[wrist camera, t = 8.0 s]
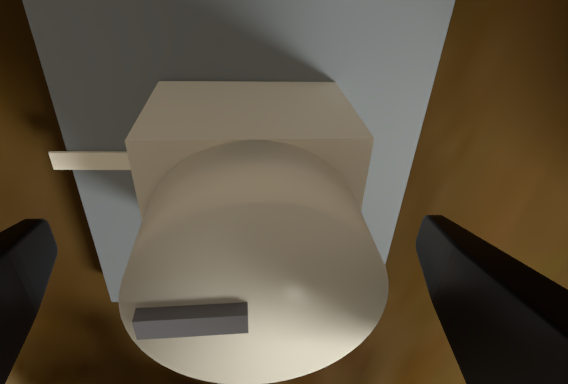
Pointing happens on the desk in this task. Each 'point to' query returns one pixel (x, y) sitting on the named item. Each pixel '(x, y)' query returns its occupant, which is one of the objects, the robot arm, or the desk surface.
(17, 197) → the desk surface
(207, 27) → the panel
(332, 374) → the desk surface
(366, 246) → the knob
